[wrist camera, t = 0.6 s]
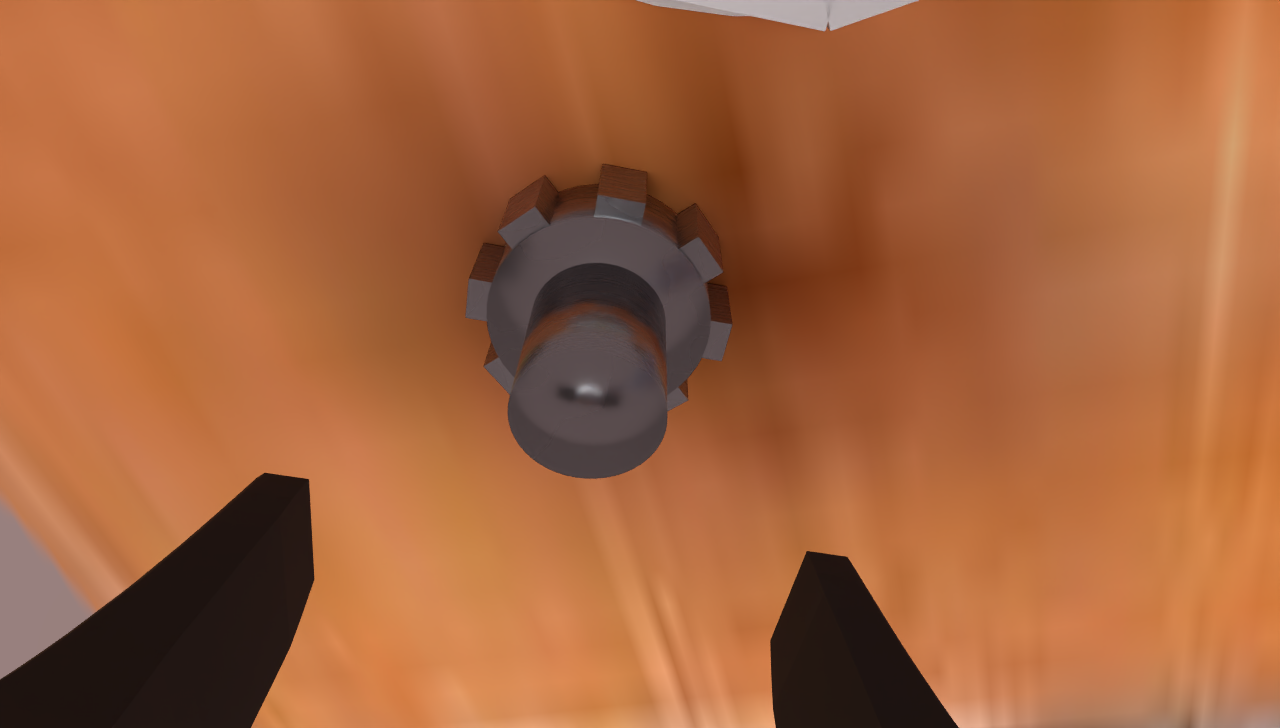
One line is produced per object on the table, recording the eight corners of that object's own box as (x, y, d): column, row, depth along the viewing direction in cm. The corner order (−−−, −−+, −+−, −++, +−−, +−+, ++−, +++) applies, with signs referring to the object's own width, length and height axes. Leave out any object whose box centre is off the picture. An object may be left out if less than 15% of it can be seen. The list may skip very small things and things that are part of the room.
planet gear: (752, 191, 19) (783, 310, 14) (694, 397, 22) (705, 550, 18) (493, 141, 18) (439, 249, 14) (472, 361, 22) (422, 508, 17)
